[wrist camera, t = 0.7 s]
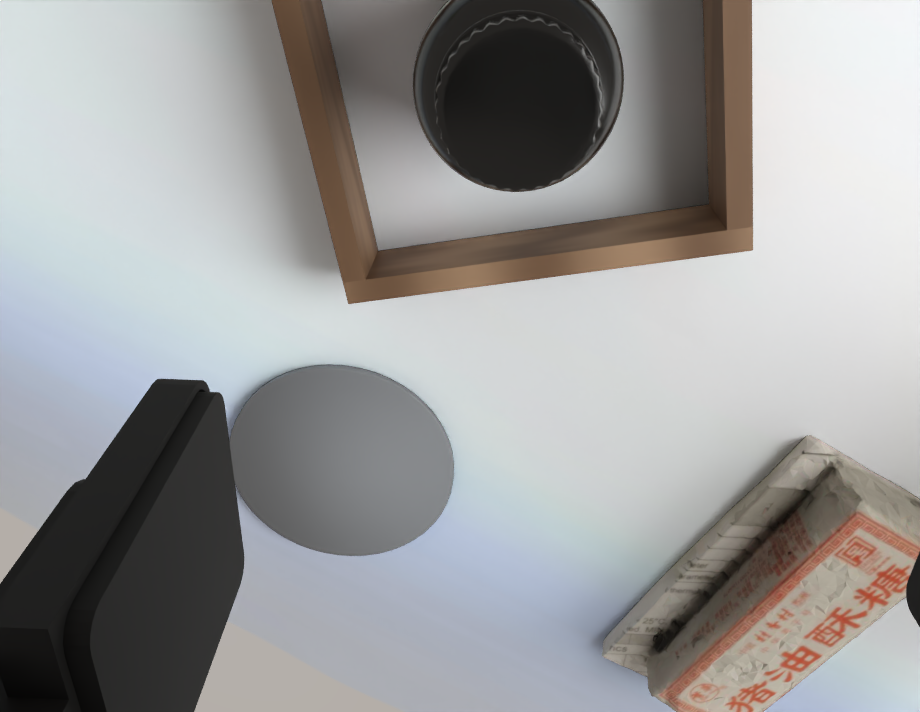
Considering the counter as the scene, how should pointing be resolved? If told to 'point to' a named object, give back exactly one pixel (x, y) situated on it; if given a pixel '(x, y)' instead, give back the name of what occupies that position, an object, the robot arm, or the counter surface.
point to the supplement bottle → (518, 89)
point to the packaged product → (773, 586)
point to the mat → (341, 460)
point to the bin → (536, 249)
